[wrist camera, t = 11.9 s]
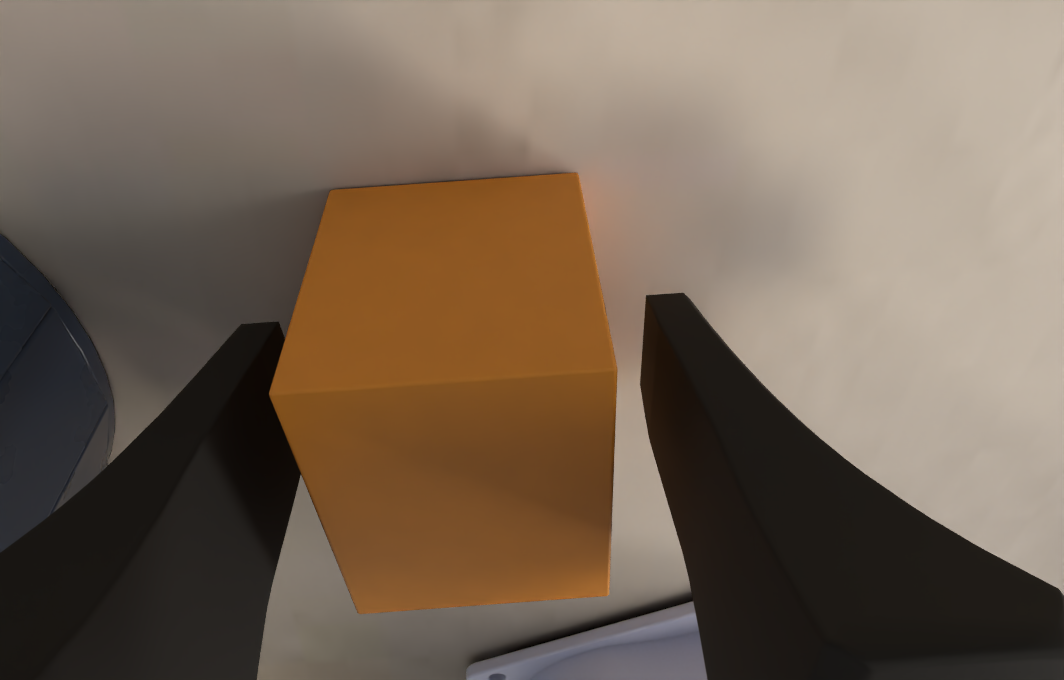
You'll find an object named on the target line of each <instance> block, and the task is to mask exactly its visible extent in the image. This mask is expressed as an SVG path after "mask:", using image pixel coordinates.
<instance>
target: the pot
mask: <svg viewBox="0 0 1064 680" xmlns="http://www.w3.org/2000/svg"><path fill="white" fill-rule="evenodd" d="M114 432H115V420H114V404H113V398H112V394H111V391H110V387H109V383H108V379H107V375H106V372H105V370H104V368H103V366H102V363H101V361H100V359H99V357H98V355H97V352H96V350H95V348H94V346H93V344H92V342H91V340H90V338H89V337H88V335H87V334H86V332H85V331H84V329H83V327H82V326H81V324H80V323H79V321H78V320H77V318H76V316H75V315H74V313H73V312H72V310H71V309H70V307H69V306H68V305H67V304H66V303H65V301H64V300H63V299H62V298H61V296H60V295H59V294H58V293H57V292H56V290H55V289H54V288H53V287H52V285H51V284H50V283H49V282H48V281H47V279H46V278H45V277H44V276H43V274H42V273H41V272H40V271H39V270H38V269H37V268H36V267H35V266H34V265H33V264H32V263H31V262H29V261H28V260H27V259H26V258H25V257H24V256H23V255H22V254H21V253H20V252H19V251H18V250H17V249H16V248H15V247H14V246H13V245H12V244H11V243H10V242H9V241H8V240H7V239H6V238H5V237H4V236H3V235H2V234H0V553H1V552H2V551H3V550H5V549H6V548H7V547H9V546H10V545H11V544H13V543H14V542H15V541H17V540H18V539H19V538H21V537H22V536H23V535H25V534H26V533H27V532H29V531H30V530H31V529H33V528H34V527H35V526H37V525H38V524H39V523H41V522H42V521H43V520H45V519H46V518H47V517H49V516H50V515H51V514H52V513H54V512H55V511H56V510H57V509H58V508H60V507H61V506H62V505H63V504H64V503H66V502H67V501H68V500H69V499H70V498H72V497H73V496H74V495H75V494H76V493H77V492H79V491H80V490H81V489H82V488H83V487H85V486H86V485H87V484H88V483H89V482H90V481H91V480H93V479H94V478H95V477H96V476H97V475H98V474H99V473H100V472H102V471H103V470H104V469H105V468H106V466H107V461H108V458H109V456H110V453H111V450H112V444H113V438H114Z"/></svg>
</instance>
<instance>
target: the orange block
mask: <svg viewBox="0 0 1064 680" xmlns="http://www.w3.org/2000/svg"><path fill="white" fill-rule="evenodd" d="M616 392H617V365H616V360H615V355H614V350H613V345H612V340H611V335H610V330H609V325H608V320H607V315H606V310H605V305H604V300H603V295H602V290H601V285H600V280H599V275H598V270H597V265H596V260H595V255H594V250H593V245H592V240H591V235H590V230H589V225H588V220H587V215H586V210H585V205H584V200H583V195H582V190H581V185H580V180H579V175H578V173H564V174H550V175H536V176H522V177H507V178H493V179H479V180H465V181H450V182H436V183H422V184H408V185H394V186H379V187H365V188H351V189H337V190H331V191H330V192H329V195H328V198H327V202H326V205H325V208H324V212H323V215H322V218H321V222H320V225H319V228H318V232H317V235H316V238H315V242H314V245H313V248H312V252H311V255H310V258H309V262H308V265H307V268H306V272H305V275H304V278H303V282H302V285H301V288H300V292H299V295H298V298H297V302H296V305H295V308H294V311H293V315H292V318H291V321H290V325H289V328H288V331H287V335H286V338H285V341H284V345H283V348H282V351H281V355H280V358H279V361H278V365H277V368H276V371H275V375H274V378H273V381H272V385H271V388H270V391H269V396H270V398H271V401H272V403H273V406H274V408H275V411H276V413H277V416H278V418H279V421H280V423H281V426H282V428H283V430H284V433H285V435H286V438H287V440H288V443H289V445H290V448H291V450H292V453H293V455H294V458H295V460H296V462H297V465H298V467H299V470H300V472H301V475H302V477H303V480H304V482H305V485H306V487H307V490H308V492H309V494H310V497H311V499H312V502H313V504H314V507H315V509H316V512H317V514H318V517H319V519H320V522H321V524H322V526H323V529H324V531H325V534H326V536H327V539H328V541H329V544H330V546H331V549H332V551H333V553H334V556H335V558H336V561H337V563H338V566H339V568H340V571H341V573H342V576H343V578H344V581H345V583H346V585H347V588H348V590H349V593H350V595H351V598H352V600H353V603H354V605H355V608H356V610H357V613H359V614H367V613H381V612H394V611H408V610H421V609H435V608H449V607H462V606H476V605H490V604H503V603H517V602H530V601H544V600H558V599H571V598H585V597H598V596H607V595H609V585H610V557H611V530H612V502H613V475H614V447H615V420H616Z"/></svg>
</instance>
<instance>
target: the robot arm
mask: <svg viewBox="0 0 1064 680" xmlns="http://www.w3.org/2000/svg"><path fill="white" fill-rule="evenodd" d="M284 341H285V338H284V335H283V332H282V330H281V327H280V324H279V322H267V323H253V324H241V325H240V327H239V328H238V329H237V330H236V331H235V332H234V333H233V334H232V335H231V336H230V337H229V338H228V340H227V341H226V342H225V343H224V344H223V345H222V346H221V347H220V349H219V350H218V351H217V352H216V353H215V354H214V355H213V356H212V358H211V359H210V360H209V361H208V362H207V363H206V364H205V366H204V367H203V368H202V369H201V370H200V371H199V372H198V373H197V375H196V376H195V377H194V378H193V379H192V380H191V381H190V382H189V383H188V384H187V386H186V387H185V388H184V389H183V390H182V391H181V392H180V393H179V394H178V395H177V396H176V398H175V399H174V400H173V401H172V402H171V403H170V404H169V405H168V406H167V407H166V408H165V410H164V411H163V412H162V413H161V414H160V415H159V416H158V417H157V418H156V419H155V420H154V421H153V422H152V423H151V424H150V425H149V426H148V427H147V428H146V429H145V430H144V431H143V432H142V433H141V434H140V435H139V436H138V437H137V438H136V439H135V440H134V441H133V442H132V443H131V444H130V445H129V446H128V447H127V448H126V449H125V450H124V451H123V452H122V453H121V454H120V455H119V456H118V457H117V458H116V459H115V460H113V461H112V462H111V463H110V464H109V465H108V466H107V467H106V468H105V469H104V470H103V471H102V472H100V473H99V474H98V475H97V476H96V477H95V478H94V479H93V480H91V481H90V482H89V483H88V484H87V485H86V486H85V487H83V488H82V489H81V490H80V491H79V492H77V493H76V494H75V495H74V496H73V497H72V498H70V499H69V500H68V501H67V502H66V503H64V504H63V505H62V506H61V507H60V508H58V509H57V510H56V511H55V512H54V513H52V514H51V515H50V516H49V517H47V518H46V519H45V520H43V521H42V522H41V523H39V524H38V525H37V526H35V527H34V528H33V529H31V530H30V531H29V532H27V533H26V534H25V535H23V536H22V537H21V538H19V539H18V540H17V541H15V542H14V543H13V544H11V545H10V546H9V547H7V548H6V549H5V550H3V551H2V552H1V553H0V680H257V673H258V665H259V658H260V652H261V645H262V638H263V632H264V625H265V618H266V612H267V606H268V601H269V597H270V592H271V587H272V583H273V579H274V575H275V571H276V567H277V564H278V560H279V556H280V552H281V548H282V545H283V541H284V537H285V533H286V529H287V526H288V522H289V518H290V514H291V510H292V507H293V503H294V499H295V495H296V491H297V487H298V483H299V479H300V475H301V472H300V470H299V467H298V465H297V462H296V460H295V458H294V455H293V453H292V450H291V448H290V445H289V443H288V440H287V438H286V435H285V433H284V430H283V428H282V426H281V423H280V421H279V418H278V416H277V413H276V411H275V408H274V406H273V403H272V401H271V398H270V396H269V391H270V388H271V385H272V381H273V378H274V375H275V371H276V368H277V365H278V361H279V358H280V355H281V351H282V348H283V345H284ZM640 386H641V392H642V399H643V405H644V411H645V417H646V423H647V429H648V435H649V439H650V443H651V446H652V450H653V453H654V457H655V460H656V464H657V467H658V471H659V474H660V477H661V481H662V484H663V488H664V491H665V494H666V498H667V501H668V505H669V508H670V511H671V515H672V518H673V521H674V525H675V528H676V532H677V535H678V538H679V542H680V545H681V549H682V552H683V556H684V560H685V564H686V568H687V572H688V576H689V581H690V586H691V592H692V597H693V601H692V602H688V603H685V604H681V605H678V606H674V607H671V608H667V609H664V610H660V611H657V612H653V613H649V614H646V615H642V616H639V617H635V618H632V619H628V620H625V621H621V622H618V623H614V624H610V625H607V626H603V627H600V628H596V629H593V630H589V631H586V632H582V633H578V634H575V635H571V636H568V637H564V638H561V639H557V640H554V641H550V642H547V643H543V644H539V645H536V646H532V647H529V648H525V649H522V650H518V651H515V652H511V653H508V654H504V655H500V656H497V657H493V658H490V659H486V660H483V661H479V662H476V663H473V664H471V665H470V666H469V667H468V668H467V669H466V680H1064V595H1063V594H1062V593H1061V591H1060V590H1059V589H1058V588H1056V587H1054V586H1052V585H1050V584H1048V583H1046V582H1044V581H1043V580H1041V579H1039V578H1037V577H1035V576H1033V575H1031V574H1029V573H1027V572H1025V571H1024V570H1022V569H1020V568H1018V567H1016V566H1014V565H1012V564H1010V563H1008V562H1006V561H1004V560H1003V559H1001V558H999V557H997V556H995V555H993V554H991V553H989V552H987V551H985V550H984V549H982V548H980V547H978V546H976V545H975V544H973V543H971V542H969V541H968V540H966V539H964V538H963V537H961V536H959V535H958V534H956V533H954V532H953V531H951V530H949V529H948V528H946V527H944V526H943V525H941V524H939V523H938V522H936V521H934V520H933V519H931V518H929V517H928V516H926V515H925V514H923V513H922V512H920V511H919V510H917V509H915V508H914V507H912V506H911V505H909V504H908V503H906V502H905V501H903V500H902V499H901V498H899V497H898V496H896V495H895V494H893V493H892V492H890V491H889V490H888V489H886V488H885V487H883V486H882V485H880V484H879V483H877V482H876V481H875V480H873V479H872V478H870V477H869V476H867V475H866V474H864V473H863V472H862V471H860V470H859V469H858V468H856V467H855V466H854V465H852V464H851V463H850V462H849V461H847V460H846V459H845V458H843V457H842V456H841V455H840V454H838V453H837V452H836V451H835V450H834V449H832V448H831V447H830V446H829V445H828V444H826V443H825V442H824V441H823V440H821V439H820V438H819V437H818V436H817V435H816V434H814V433H813V432H812V431H811V430H810V429H809V428H808V427H807V426H805V425H804V424H803V423H802V422H801V421H800V420H799V419H798V418H797V417H796V416H795V415H793V414H792V413H791V412H790V411H789V410H788V409H787V408H786V407H785V406H784V405H783V404H782V403H781V402H780V401H779V400H778V399H777V398H776V397H775V396H774V395H773V394H772V393H771V392H770V391H769V390H768V389H767V388H766V387H765V386H764V385H763V384H762V383H761V382H760V381H759V380H758V379H757V378H756V377H755V375H754V374H753V373H752V372H751V371H750V370H749V369H748V368H747V367H746V366H745V365H744V364H743V363H742V361H741V360H740V359H739V358H738V357H737V356H736V355H735V354H734V353H733V351H732V350H731V349H730V348H729V347H728V346H727V344H726V343H725V342H724V341H723V340H722V339H721V337H720V336H719V335H718V334H717V333H716V331H715V330H714V329H713V328H712V327H711V325H710V324H709V323H708V322H707V320H706V319H705V318H704V317H703V315H702V314H701V313H700V312H699V310H698V309H697V308H696V306H695V305H694V304H693V303H692V301H691V300H690V299H689V298H688V297H687V296H686V295H685V294H684V293H674V294H660V295H646V304H645V320H644V335H643V350H642V365H641V380H640Z"/></svg>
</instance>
